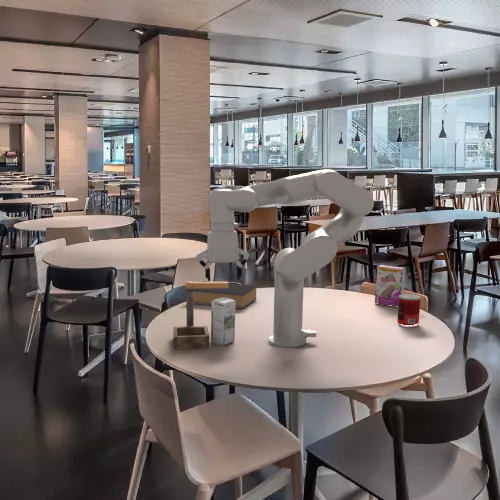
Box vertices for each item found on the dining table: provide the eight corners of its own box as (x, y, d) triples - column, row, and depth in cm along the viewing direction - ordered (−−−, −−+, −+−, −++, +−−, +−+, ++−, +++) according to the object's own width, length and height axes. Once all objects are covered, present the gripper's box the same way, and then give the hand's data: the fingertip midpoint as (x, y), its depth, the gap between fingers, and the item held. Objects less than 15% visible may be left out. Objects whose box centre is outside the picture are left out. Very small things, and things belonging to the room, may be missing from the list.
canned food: (422, 324, 214) (424, 296, 213) (412, 329, 209) (413, 299, 207) (403, 320, 219) (405, 292, 218) (393, 324, 214) (394, 296, 212)
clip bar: (185, 287, 197) (185, 281, 196) (227, 286, 198) (227, 281, 198) (185, 289, 194) (185, 283, 193) (228, 288, 195) (228, 283, 195)
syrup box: (222, 338, 195) (222, 296, 192) (235, 342, 191) (235, 299, 189) (210, 342, 190) (210, 299, 188) (223, 346, 187) (224, 302, 184)
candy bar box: (374, 304, 244) (376, 266, 241) (378, 301, 248) (380, 264, 245) (400, 308, 238) (402, 269, 235) (403, 305, 242) (406, 267, 239)
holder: (206, 331, 202) (206, 286, 199) (209, 348, 184) (209, 298, 182) (173, 332, 200) (173, 287, 198) (173, 349, 183) (173, 299, 180)
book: (203, 295, 256) (203, 280, 255) (256, 300, 248) (256, 285, 247) (186, 304, 240) (186, 289, 239) (242, 310, 232) (243, 294, 231)
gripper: (247, 225, 189) (248, 276, 192) (195, 227, 187) (196, 278, 190) (250, 228, 182) (251, 281, 185) (196, 229, 180) (197, 283, 182)
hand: (223, 279), depth 187 cm, fingers open, 9 cm apart
